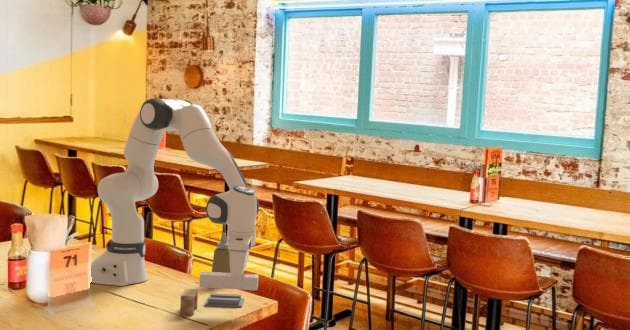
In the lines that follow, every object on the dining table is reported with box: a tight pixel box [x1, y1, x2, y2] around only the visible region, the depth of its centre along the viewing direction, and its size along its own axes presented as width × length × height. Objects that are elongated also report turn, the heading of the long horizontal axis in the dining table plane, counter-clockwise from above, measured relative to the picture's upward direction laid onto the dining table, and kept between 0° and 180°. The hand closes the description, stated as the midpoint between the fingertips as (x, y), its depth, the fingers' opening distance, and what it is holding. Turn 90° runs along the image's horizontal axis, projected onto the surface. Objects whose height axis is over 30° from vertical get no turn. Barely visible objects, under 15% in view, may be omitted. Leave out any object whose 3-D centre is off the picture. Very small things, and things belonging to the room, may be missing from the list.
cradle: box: [204, 292, 245, 308], centre depth 245 cm, size 12×8×2 cm, turn 90°
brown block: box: [179, 288, 199, 316], centre depth 235 cm, size 4×8×6 cm, turn 0°
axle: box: [198, 270, 260, 291], centre depth 234 cm, size 18×4×4 cm, turn 90°
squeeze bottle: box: [211, 232, 230, 273], centre depth 269 cm, size 8×8×18 cm
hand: (239, 281), depth 234 cm, fingers closed on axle, 4 cm apart
